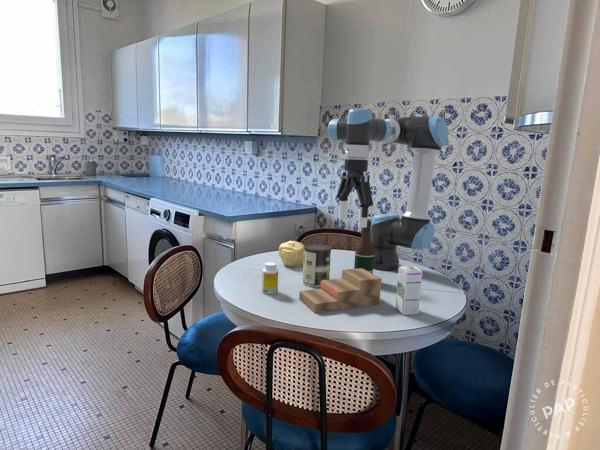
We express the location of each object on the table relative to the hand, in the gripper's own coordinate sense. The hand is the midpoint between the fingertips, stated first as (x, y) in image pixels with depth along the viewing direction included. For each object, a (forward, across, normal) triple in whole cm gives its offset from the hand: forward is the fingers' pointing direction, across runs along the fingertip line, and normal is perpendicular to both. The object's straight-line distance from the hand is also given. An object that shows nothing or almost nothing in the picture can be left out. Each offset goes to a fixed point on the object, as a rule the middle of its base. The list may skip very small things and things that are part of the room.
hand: (352, 223), depth 138 cm
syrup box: (+26, +16, +14) cm, 34 cm away
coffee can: (+26, -18, -4) cm, 32 cm away
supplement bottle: (+26, -13, -24) cm, 38 cm away
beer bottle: (+26, -16, +15) cm, 34 cm away
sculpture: (+26, -42, -4) cm, 50 cm away
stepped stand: (+26, +2, -4) cm, 27 cm away
